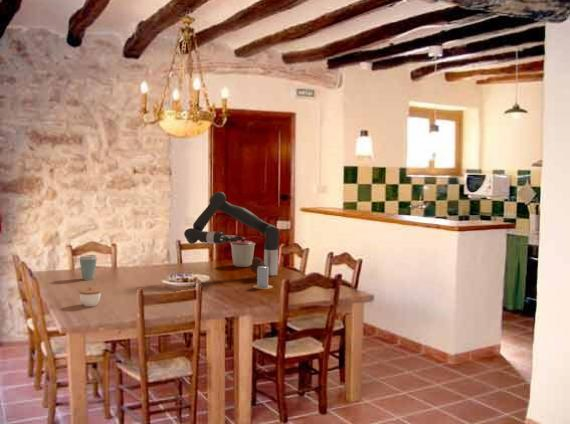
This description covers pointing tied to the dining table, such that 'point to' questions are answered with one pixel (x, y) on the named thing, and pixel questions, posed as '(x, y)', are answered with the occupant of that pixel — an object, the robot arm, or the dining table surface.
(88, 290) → the lidded jar
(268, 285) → the cork mat
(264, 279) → the silver soda can
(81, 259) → the disposable coffee cup
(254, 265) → the ice cream bowl
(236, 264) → the canister
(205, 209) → the robot arm
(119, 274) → the dining table surface
